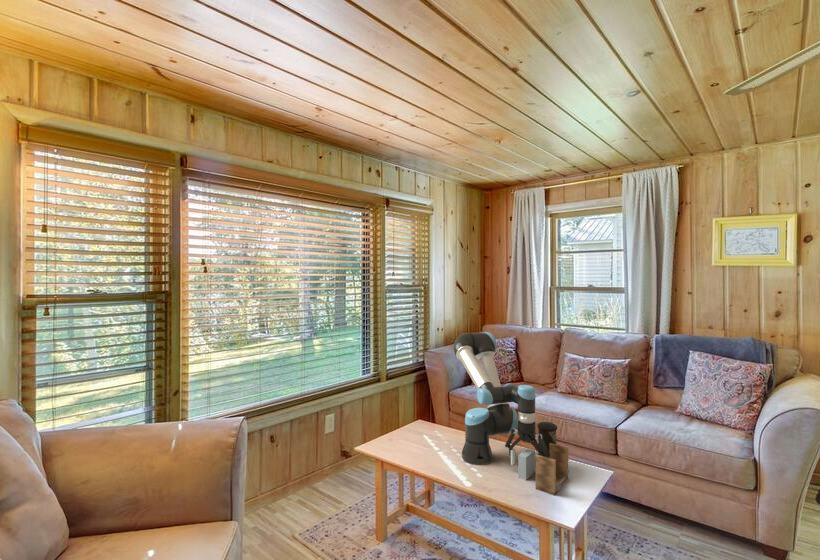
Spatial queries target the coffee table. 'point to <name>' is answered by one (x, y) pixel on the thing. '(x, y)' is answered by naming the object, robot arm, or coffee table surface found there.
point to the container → (547, 433)
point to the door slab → (526, 464)
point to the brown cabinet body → (552, 469)
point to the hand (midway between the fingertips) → (527, 468)
